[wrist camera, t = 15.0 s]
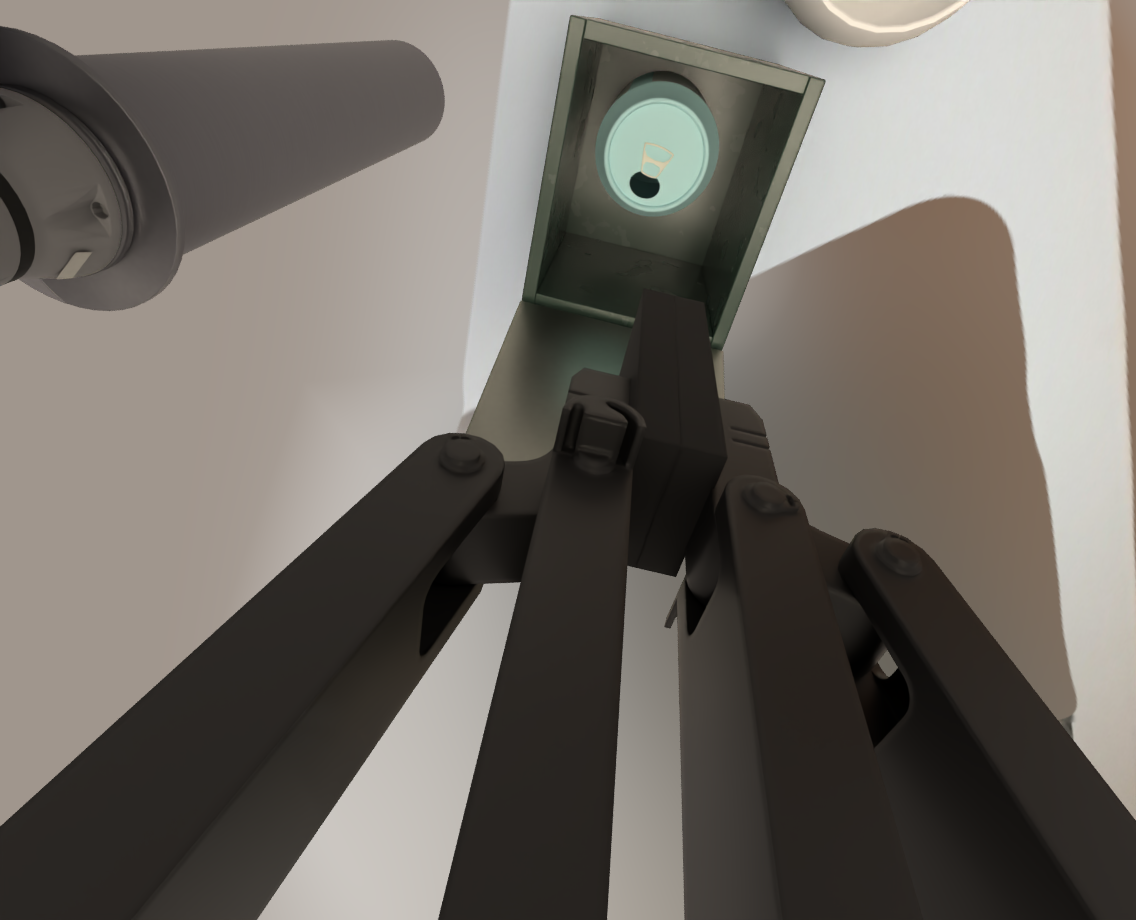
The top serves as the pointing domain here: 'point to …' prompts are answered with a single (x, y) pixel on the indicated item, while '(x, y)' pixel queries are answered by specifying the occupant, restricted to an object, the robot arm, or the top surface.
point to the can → (657, 145)
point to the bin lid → (546, 376)
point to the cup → (872, 19)
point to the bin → (689, 236)
